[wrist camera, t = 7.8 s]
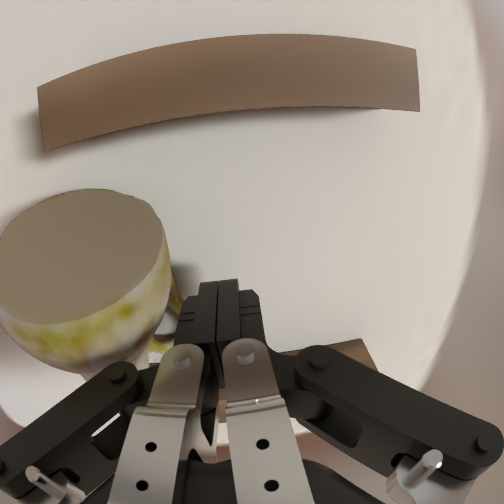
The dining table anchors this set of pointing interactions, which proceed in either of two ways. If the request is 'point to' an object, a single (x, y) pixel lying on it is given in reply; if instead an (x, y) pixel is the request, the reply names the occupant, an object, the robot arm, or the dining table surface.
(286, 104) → the wooden guide rails
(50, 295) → the mug
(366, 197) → the dining table surface
